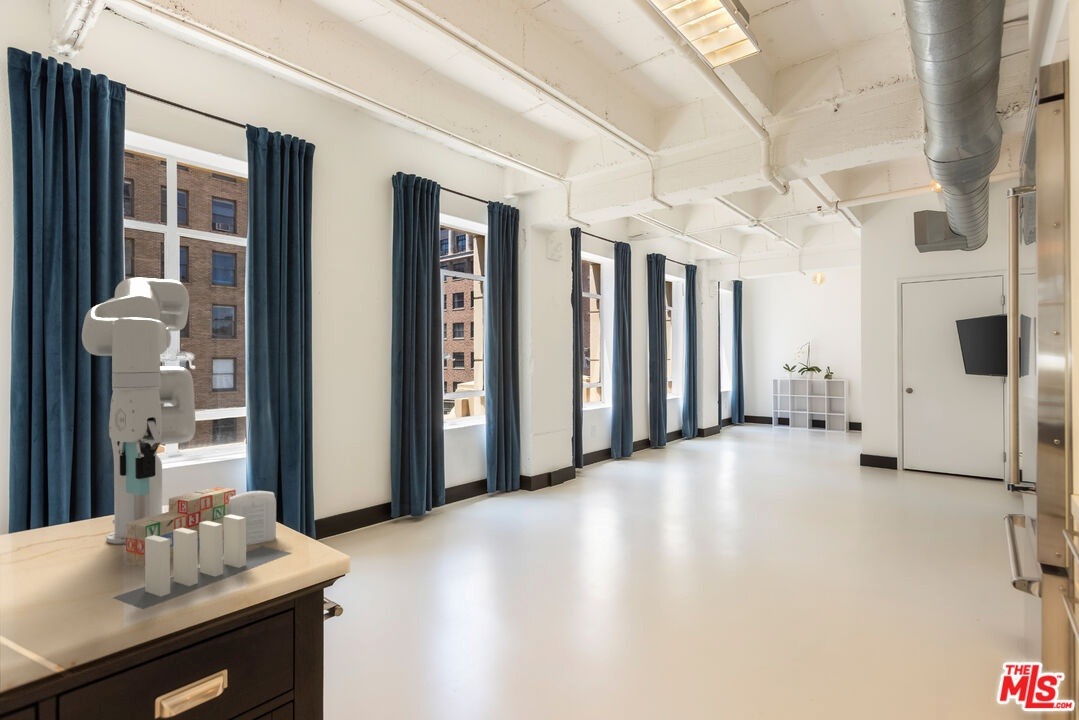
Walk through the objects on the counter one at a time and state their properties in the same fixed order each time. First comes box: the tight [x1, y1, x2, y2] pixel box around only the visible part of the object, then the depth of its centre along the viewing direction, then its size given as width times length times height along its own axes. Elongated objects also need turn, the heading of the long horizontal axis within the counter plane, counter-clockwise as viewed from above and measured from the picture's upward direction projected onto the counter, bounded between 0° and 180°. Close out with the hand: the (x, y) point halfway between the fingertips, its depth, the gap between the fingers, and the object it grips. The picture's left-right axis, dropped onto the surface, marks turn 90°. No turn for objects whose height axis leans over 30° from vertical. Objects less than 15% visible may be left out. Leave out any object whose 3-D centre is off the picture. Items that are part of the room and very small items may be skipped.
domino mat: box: [112, 545, 292, 610], centre depth 110 cm, size 10×30×1 cm, turn 153°
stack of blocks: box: [125, 486, 237, 568], centre depth 124 cm, size 21×6×12 cm, turn 158°
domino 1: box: [126, 442, 149, 495], centre depth 105 cm, size 5×2×10 cm, turn 62°
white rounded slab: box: [227, 490, 277, 546], centre depth 129 cm, size 10×4×12 cm, turn 123°
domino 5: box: [223, 514, 247, 568], centre depth 114 cm, size 5×2×10 cm, turn 63°
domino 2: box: [144, 535, 171, 596], centre depth 101 cm, size 5×2×10 cm, turn 63°
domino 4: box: [199, 521, 224, 577], centre depth 110 cm, size 5×2×10 cm, turn 63°
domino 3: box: [173, 528, 199, 586], centre depth 105 cm, size 5×2×10 cm, turn 63°
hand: (137, 475), depth 105 cm, fingers closed on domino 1, 4 cm apart
